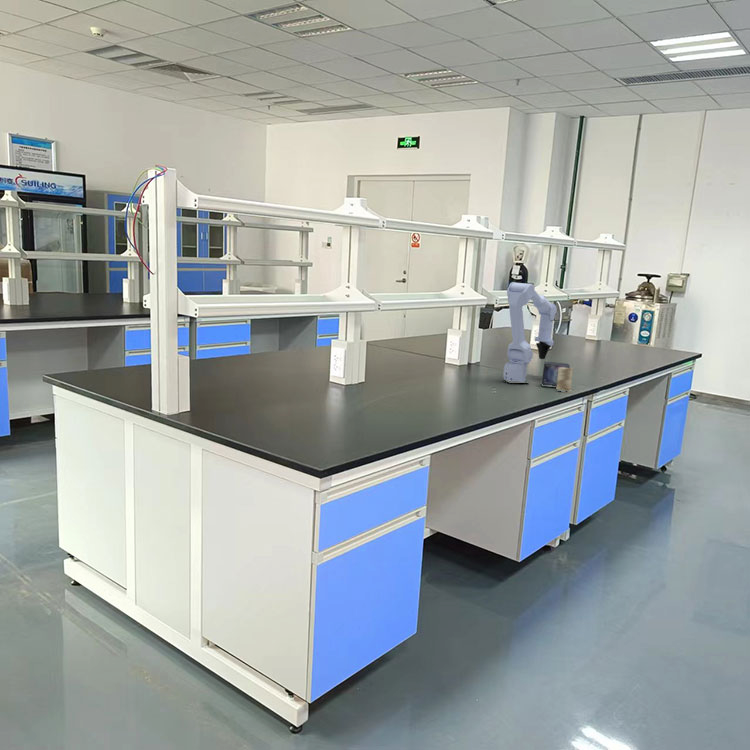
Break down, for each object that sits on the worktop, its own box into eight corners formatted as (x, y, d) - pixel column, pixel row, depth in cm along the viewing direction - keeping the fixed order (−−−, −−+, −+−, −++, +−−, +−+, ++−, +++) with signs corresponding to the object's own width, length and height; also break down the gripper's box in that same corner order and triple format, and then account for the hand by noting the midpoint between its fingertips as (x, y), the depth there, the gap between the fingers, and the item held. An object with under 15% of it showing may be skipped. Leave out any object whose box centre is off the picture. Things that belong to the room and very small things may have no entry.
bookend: (559, 392, 273) (562, 368, 271) (555, 390, 276) (558, 367, 274) (572, 392, 274) (575, 369, 272) (568, 391, 277) (571, 367, 275)
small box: (541, 387, 282) (544, 363, 280) (541, 384, 288) (543, 361, 286) (567, 389, 280) (570, 365, 278) (565, 387, 286) (568, 363, 284)
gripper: (561, 331, 291) (557, 361, 294) (545, 327, 305) (542, 356, 308) (546, 331, 290) (543, 361, 292) (532, 327, 304) (528, 355, 306)
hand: (541, 358), depth 300 cm, fingers closed
